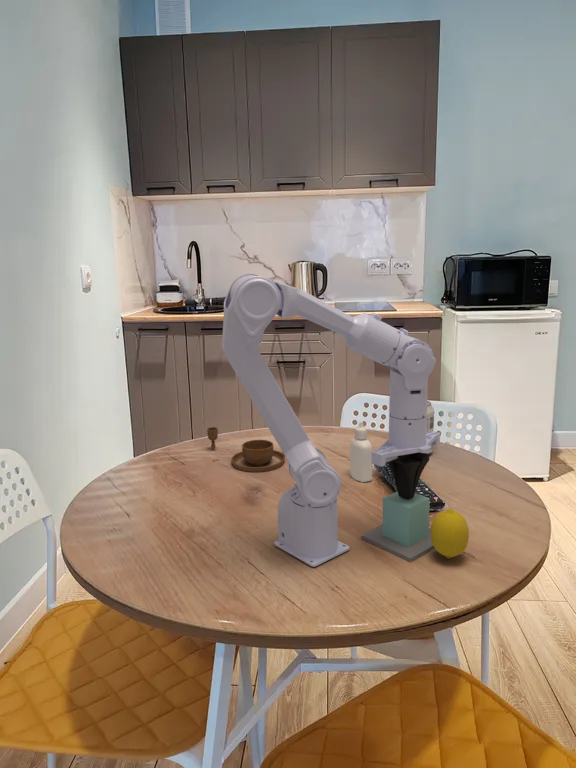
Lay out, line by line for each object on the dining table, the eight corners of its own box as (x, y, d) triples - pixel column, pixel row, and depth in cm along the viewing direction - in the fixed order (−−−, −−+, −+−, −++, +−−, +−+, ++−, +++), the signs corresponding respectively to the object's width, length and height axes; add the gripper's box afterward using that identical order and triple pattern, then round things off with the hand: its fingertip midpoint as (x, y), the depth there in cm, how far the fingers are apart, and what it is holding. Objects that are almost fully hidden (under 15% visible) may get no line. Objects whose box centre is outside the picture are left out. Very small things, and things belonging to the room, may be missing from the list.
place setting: (226, 481, 121) (225, 454, 120) (204, 451, 139) (202, 428, 138) (303, 468, 127) (303, 442, 126) (272, 441, 145) (271, 418, 144)
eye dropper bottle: (370, 472, 122) (371, 418, 119) (372, 483, 117) (372, 426, 114) (350, 472, 123) (350, 418, 120) (350, 482, 117) (350, 426, 114)
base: (361, 538, 95) (361, 535, 94) (400, 519, 101) (400, 516, 101) (410, 562, 87) (410, 558, 87) (449, 539, 93) (449, 536, 93)
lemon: (439, 545, 92) (441, 498, 90) (473, 556, 88) (475, 507, 87) (423, 559, 88) (424, 511, 86) (458, 571, 84) (460, 521, 82)
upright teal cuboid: (382, 535, 94) (382, 497, 93) (402, 525, 97) (403, 488, 96) (408, 547, 90) (409, 508, 89) (428, 536, 94) (429, 498, 92)
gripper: (398, 430, 82) (396, 519, 85) (457, 410, 91) (454, 491, 94) (361, 420, 87) (360, 504, 90) (420, 402, 96) (418, 479, 99)
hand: (406, 496), depth 92 cm, fingers closed
